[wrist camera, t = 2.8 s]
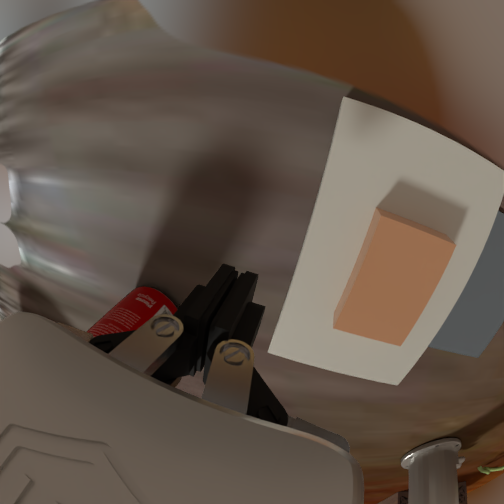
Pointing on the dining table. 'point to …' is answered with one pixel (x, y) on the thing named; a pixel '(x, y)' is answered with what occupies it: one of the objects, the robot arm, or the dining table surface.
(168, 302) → the soda can
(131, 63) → the dining table surface
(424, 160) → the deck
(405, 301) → the tile
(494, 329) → the mat
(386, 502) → the tissue box cover
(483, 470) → the figurine
